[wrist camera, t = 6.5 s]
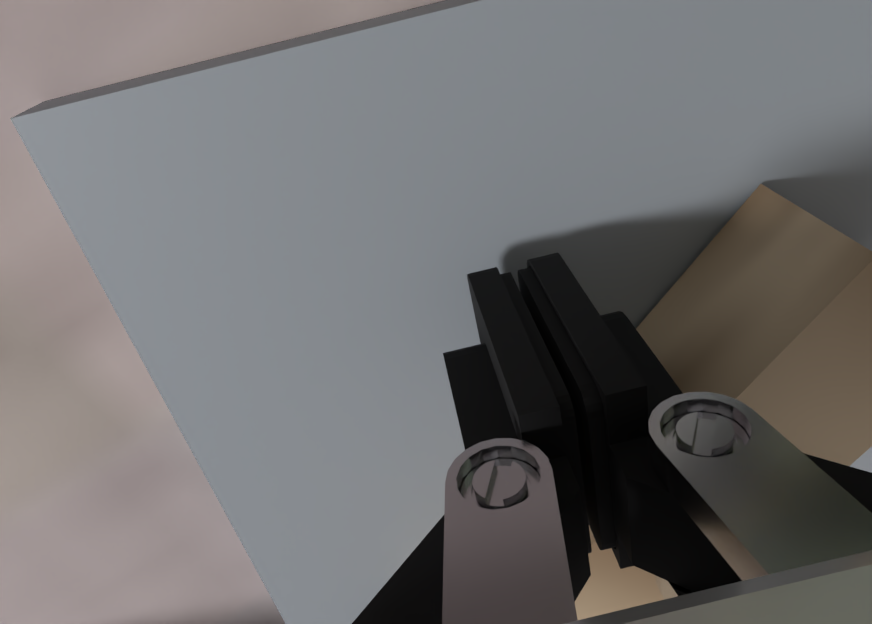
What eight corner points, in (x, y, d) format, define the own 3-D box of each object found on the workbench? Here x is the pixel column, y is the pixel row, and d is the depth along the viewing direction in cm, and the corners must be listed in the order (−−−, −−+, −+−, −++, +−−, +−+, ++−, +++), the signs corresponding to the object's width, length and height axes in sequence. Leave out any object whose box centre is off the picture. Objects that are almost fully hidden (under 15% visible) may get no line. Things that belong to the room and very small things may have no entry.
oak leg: (499, 626, 17) (524, 751, 14) (405, 595, 16) (414, 723, 13) (860, 256, 12) (992, 340, 10) (760, 183, 11) (877, 254, 9)
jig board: (43, 101, 11) (-116, 182, 7) (1249, -202, 10) (1726, -277, 7) (348, 695, 20) (345, 865, 16) (1003, 546, 19) (1150, 685, 16)
